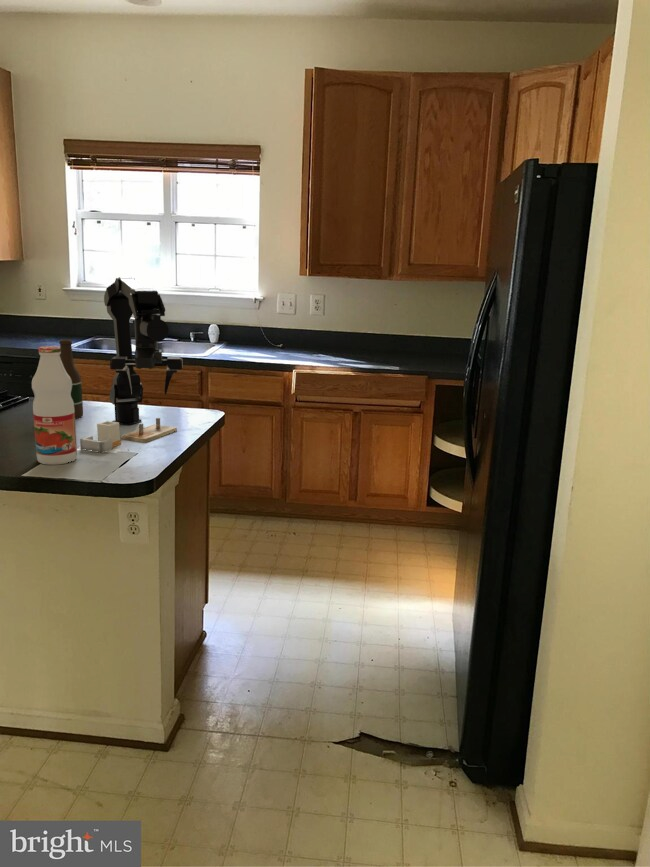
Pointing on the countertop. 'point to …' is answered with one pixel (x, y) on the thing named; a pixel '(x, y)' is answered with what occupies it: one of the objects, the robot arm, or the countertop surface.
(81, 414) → the beer bottle
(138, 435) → the pin board
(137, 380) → the robot arm
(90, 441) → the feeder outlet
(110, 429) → the sleeve
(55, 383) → the fruit juice
